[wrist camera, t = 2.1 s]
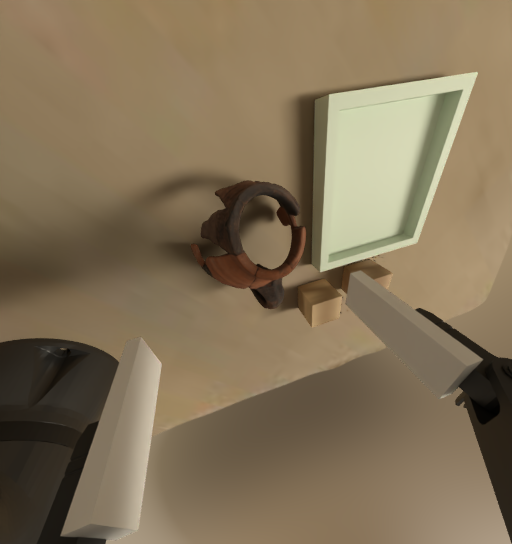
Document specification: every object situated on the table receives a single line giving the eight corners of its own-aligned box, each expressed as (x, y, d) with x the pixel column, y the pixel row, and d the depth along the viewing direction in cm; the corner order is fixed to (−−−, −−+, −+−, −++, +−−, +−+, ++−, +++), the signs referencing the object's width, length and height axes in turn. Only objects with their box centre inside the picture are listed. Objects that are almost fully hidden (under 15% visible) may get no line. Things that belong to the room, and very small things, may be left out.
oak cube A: (297, 307, 29) (311, 327, 25) (297, 286, 26) (312, 305, 23) (322, 299, 29) (338, 318, 26) (323, 278, 27) (342, 295, 24)
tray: (311, 264, 25) (320, 272, 23) (314, 99, 16) (329, 94, 14) (403, 237, 27) (416, 242, 25) (452, 78, 18) (478, 71, 16)
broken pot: (161, 223, 18) (185, 206, 11) (238, 180, 21) (291, 148, 15) (228, 317, 22) (275, 347, 16) (281, 269, 26) (337, 275, 19)
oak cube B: (340, 288, 29) (359, 306, 26) (343, 266, 27) (365, 282, 24) (364, 280, 30) (385, 297, 27) (368, 258, 28) (392, 273, 24)
